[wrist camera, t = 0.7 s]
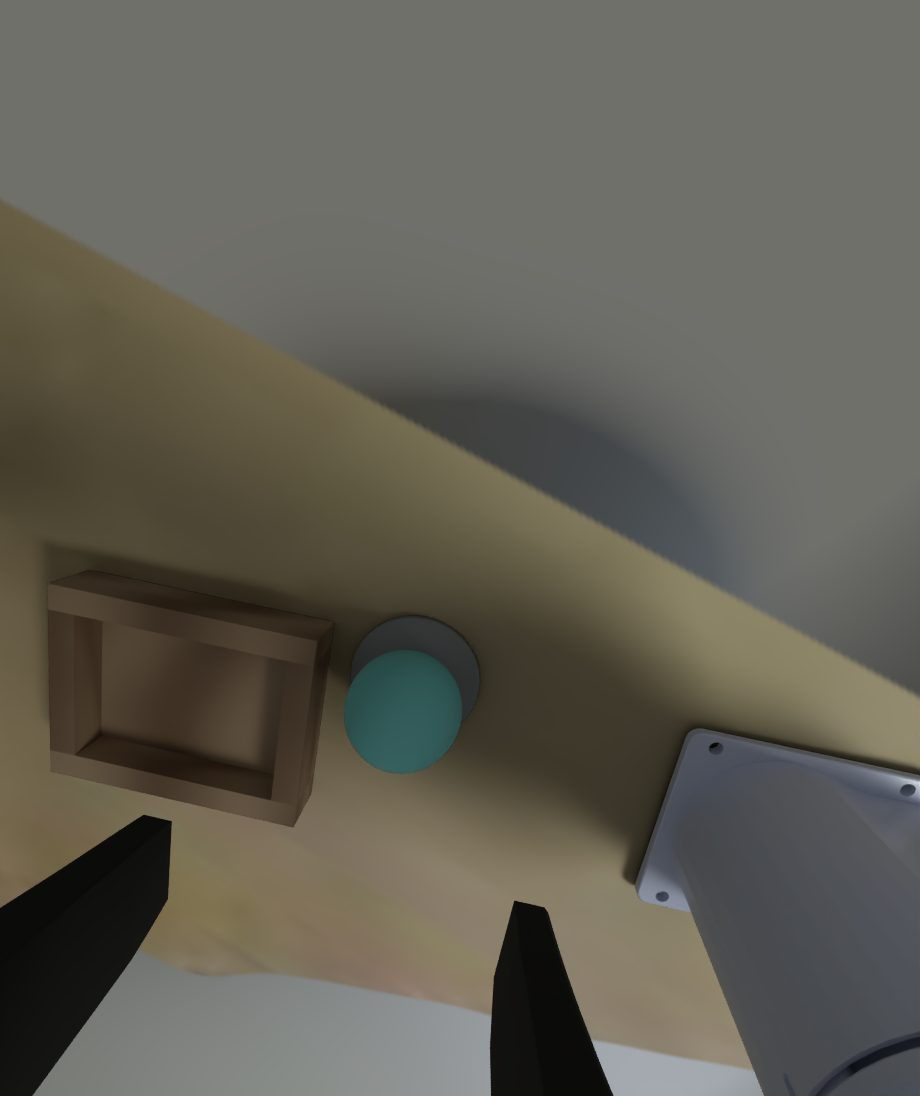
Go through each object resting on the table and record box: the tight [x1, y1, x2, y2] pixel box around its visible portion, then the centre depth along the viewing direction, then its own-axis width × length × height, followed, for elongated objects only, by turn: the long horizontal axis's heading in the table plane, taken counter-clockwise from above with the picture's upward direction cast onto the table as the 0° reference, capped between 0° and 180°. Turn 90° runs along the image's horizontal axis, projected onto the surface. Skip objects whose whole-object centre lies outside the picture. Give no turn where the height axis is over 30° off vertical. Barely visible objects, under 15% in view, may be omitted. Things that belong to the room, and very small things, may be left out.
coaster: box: [350, 616, 480, 723], centre depth 19 cm, size 5×5×1 cm
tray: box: [47, 570, 334, 827], centre depth 19 cm, size 10×8×2 cm
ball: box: [344, 650, 462, 774], centre depth 17 cm, size 4×4×4 cm
